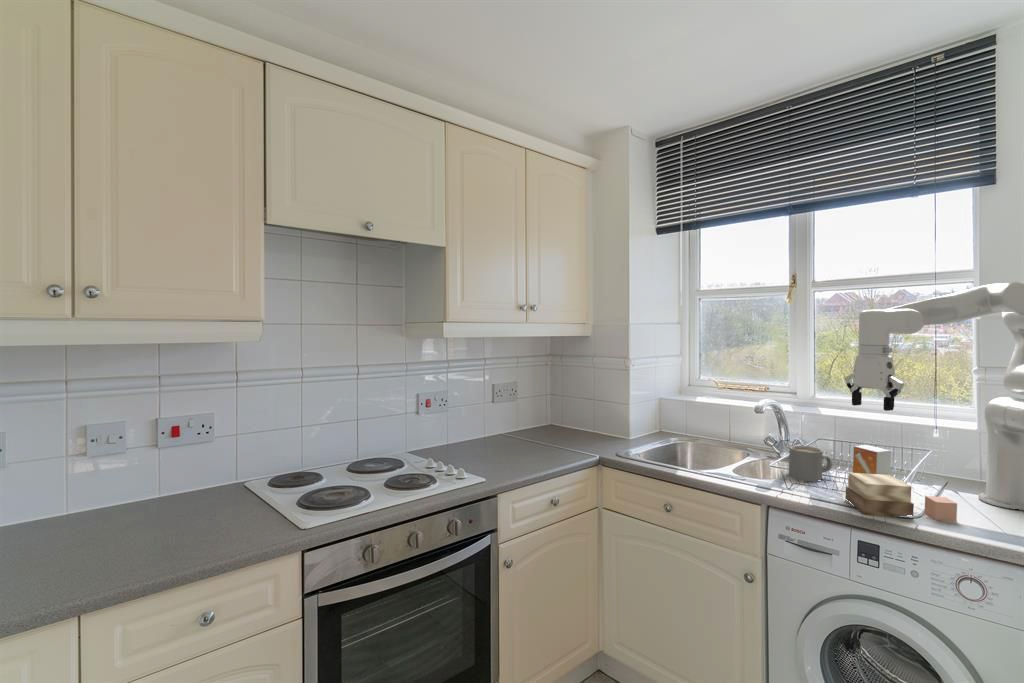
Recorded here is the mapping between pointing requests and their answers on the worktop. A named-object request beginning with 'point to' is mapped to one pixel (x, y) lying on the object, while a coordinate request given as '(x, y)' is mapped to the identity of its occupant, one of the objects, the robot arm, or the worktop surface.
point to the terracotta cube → (941, 508)
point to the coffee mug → (807, 463)
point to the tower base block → (879, 506)
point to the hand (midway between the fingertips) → (872, 407)
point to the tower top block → (879, 487)
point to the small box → (871, 460)
